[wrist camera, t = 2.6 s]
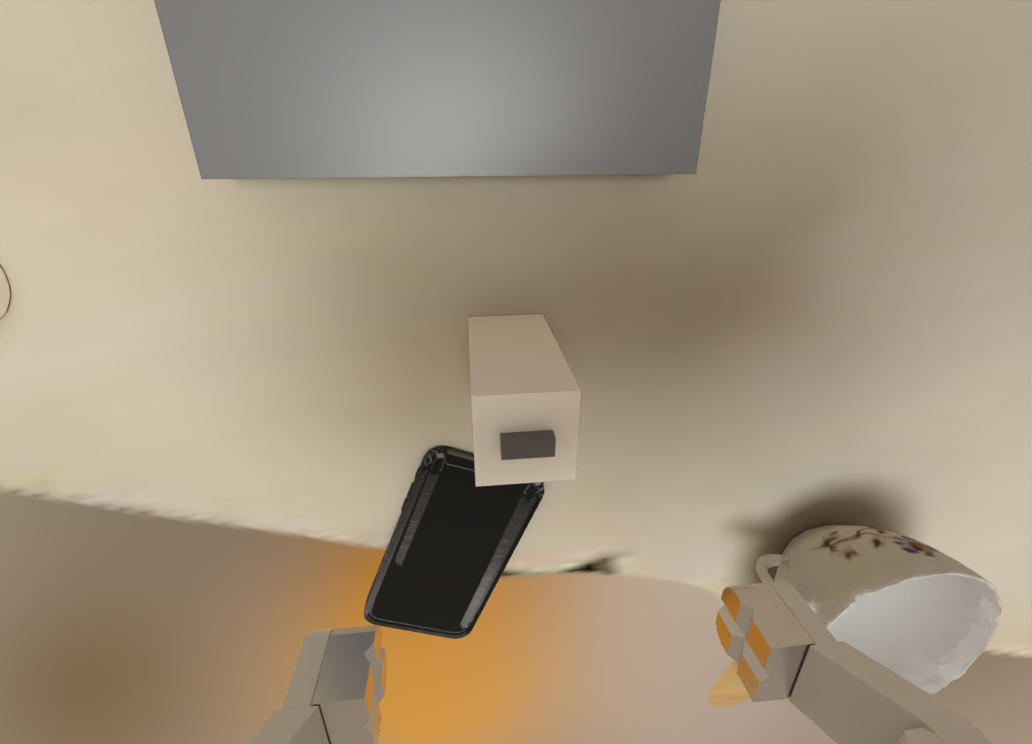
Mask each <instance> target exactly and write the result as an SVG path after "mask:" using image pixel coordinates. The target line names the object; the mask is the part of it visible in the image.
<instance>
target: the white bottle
mask: <svg viewBox="0 0 1032 744" xmlns="http://www.w3.org/2000/svg"><path fill="white" fill-rule="evenodd" d="M9 300H10V291H9V284H8V282H7V279H6V276H5V273H4V271H3V270H2V268H1V266H0V318H1V317H2V316H3V315H4V314H5V313H6V311H7V307H8V304H9Z"/></svg>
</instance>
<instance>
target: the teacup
mask: <svg viewBox="0 0 1032 744" xmlns="http://www.w3.org/2000/svg"><path fill="white" fill-rule="evenodd" d="M773 566H778V568H777V571H776V575H775V579H774V580H773V579H772V578H771V576H770V575H769V573H768V569H769V568H771V567H773ZM756 571H757V574H758V576H759V578H760V580H761V581H762V583H770V582H779V581H788V582H789V583H791V584H792V585H793V586H794V587H795V589H796V590H797V591H798V592H799V594H800V595H801V596H802V597H803V599H804V600H805V601H806V602H807V604H808V605H809V606H810V607H811V609H812V610H813V611H814V613H815V614H816V615H817V616H818V618H819V619H820V620H821V621H822V623H823V624H824V625H825V626H826V628H827V629H828V630H829V631H830V633H831V634H832V635H833V636H834V638H835V639H836V640H837V641H838V642H841V641H844V642H846V643H847V644H849V645H851V646H852V647H854V648H856V649H857V650H859V651H860V652H862V653H864V654H865V655H867V656H868V657H870V658H872V659H873V660H875V661H877V662H878V663H880V664H881V665H883V666H885V667H886V668H888V669H889V670H891V671H893V672H894V673H896V674H898V675H899V676H901V677H902V678H904V679H906V680H907V681H909V682H910V683H912V684H914V685H915V686H917V687H919V688H920V689H922V690H923V691H925V692H927V693H928V694H933V693H936V692H937V691H939V690H940V689H941V688H943V687H946V686H947V685H948V684H949V682H951V681H952V680H954V679H958V678H959V677H960V676H961V675H963V674H964V673H965V671H966V670H967V668H968V667H969V666H970V665H971V664H972V663H973V661H974V660H975V659H976V658H977V657H978V656H979V655H980V654H981V653H982V652H983V651H984V649H985V647H986V645H987V644H988V642H989V641H990V640H991V638H992V637H993V635H994V632H995V629H996V628H997V626H998V616H999V615H1000V614H1001V602H1000V597H999V594H998V592H997V589H996V588H995V586H994V585H992V584H991V583H989V582H988V581H987V580H986V579H984V578H983V577H981V576H980V575H978V574H977V573H975V572H974V571H972V570H971V569H969V568H967V567H966V566H964V565H963V564H961V563H959V562H958V561H956V560H954V559H952V558H951V557H949V556H947V555H945V554H944V553H942V552H940V551H938V550H937V549H935V548H933V547H930V546H928V545H926V544H924V543H922V542H920V541H917V540H915V539H912V538H910V537H907V536H904V535H902V534H899V533H895V532H891V531H887V530H883V529H878V528H874V527H867V526H851V525H843V526H842V525H827V526H820V527H816V528H812V529H809V530H806V531H804V532H802V533H801V534H799V535H798V536H796V537H795V538H794V539H792V540H791V542H790V543H789V544H788V545H787V547H786V548H785V549H784V551H783V553H782V555H780V554H767V555H763V556H761V557H760V558H758V560H757V562H756Z"/></svg>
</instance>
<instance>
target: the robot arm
mask: <svg viewBox="0 0 1032 744" xmlns="http://www.w3.org/2000/svg"><path fill="white" fill-rule="evenodd" d="M721 599H722V600H723V602H724V604H725V605H724V606H723V607H722V608H721V609H720V610H719V611H718V614H717V619H716V625H717V632H718V635H719V638H720V641H721V644H722V645H723V647H724V649H725V651H726V653H727V654H728V655H729V656H730V657H732V658H733V659H734V660H736V661H737V662H738V670H737V673H738V675H739V677H740V679H741V681H742V682H743V684H744V686H745V688H746V690H747V691H748V693H749V695H750V697H751V699H752V700H753V702H760V701H770V700H780V699H790V700H789V701H790V702H791V703H792V704H793V705H795V706H796V707H797V708H798V709H799V710H800V711H801V712H802V713H804V714H805V715H806V716H807V717H808V718H810V720H812V721H813V722H814V723H815V724H816V725H817V726H818V727H820V728H821V729H822V730H823V731H824V732H825V733H826V734H827V735H829V736H830V737H831V738H832V739H833V740H834V741H835V742H837V743H838V744H992V743H991V742H990V741H989V740H988V739H987V737H986V736H985V735H984V734H983V733H982V732H981V731H980V730H979V729H978V728H977V727H976V726H975V724H974V723H973V722H972V721H971V720H970V719H969V718H967V717H965V716H964V715H962V714H960V713H959V712H957V711H956V710H954V709H952V708H951V707H949V706H948V705H946V704H944V703H943V702H941V701H939V700H938V699H936V698H935V697H933V696H931V695H930V694H928V693H927V692H925V691H923V690H922V689H920V688H919V687H917V686H915V685H914V684H912V683H910V682H909V681H907V680H906V679H904V678H902V677H901V676H899V675H898V674H896V673H894V672H893V671H891V670H889V669H888V668H886V667H885V666H883V665H881V664H880V663H878V662H877V661H875V660H873V659H872V658H870V657H868V656H867V655H865V654H864V653H862V652H860V651H859V650H857V649H856V648H854V647H852V646H851V645H849V644H847V643H846V642H844V641H841V642H838V641H837V640H836V639H835V638H834V636H833V635H832V634H831V633H830V631H829V630H828V629H827V628H826V626H825V625H824V624H823V623H822V621H821V620H820V619H819V618H818V616H817V615H816V614H815V613H814V611H813V610H812V609H811V607H810V606H809V605H808V604H807V602H806V601H805V600H804V599H803V597H802V596H801V595H800V594H799V592H798V591H797V590H796V589H795V587H794V586H793V585H792V584H791V583H789V582H788V581H779V582H770V583H757V584H749V585H741V586H732V587H727V588H726V589H724V590H723V593H722V597H721ZM381 639H382V632H381V628H380V625H376V626H364V627H351V628H338V629H327V630H316V631H310V632H309V633H308V634H307V636H306V637H305V639H304V642H303V645H302V649H301V652H300V655H299V658H298V661H297V664H296V668H295V671H294V674H293V677H292V680H291V684H290V687H289V690H288V693H287V696H286V699H285V703H284V706H283V709H282V710H277V711H274V713H272V715H271V716H270V717H269V718H268V719H267V720H266V721H265V722H264V723H263V725H262V726H261V727H260V728H259V729H258V730H257V731H256V732H255V734H254V735H253V736H252V737H251V738H250V739H249V740H248V741H247V743H246V744H378V738H379V731H380V724H381V714H380V709H379V702H380V701H381V699H382V698H383V697H384V693H385V685H386V655H385V649H384V648H383V647H382V646H381Z"/></svg>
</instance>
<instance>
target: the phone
mask: <svg viewBox="0 0 1032 744" xmlns="http://www.w3.org/2000/svg"><path fill="white" fill-rule="evenodd" d="M543 495H544V485H543V482H534V483H520V484H506V485H492V486H478V487H476V482H475V463H474V454H473V453H469V452H466V451H462V450H459V449H455V448H452V447H448V446H438V447H435V448H432V449H431V450H429V451H428V452H427V453H426V455H425V456H424V458H423V461H422V463H421V466H420V468H419V469H418V471H417V473H416V476H415V481H414V483H413V484H412V485H411V488H410V490H409V493H408V495H407V497H408V498H407V499H405V502H404V504H403V507H402V510H401V511H402V513H401V516H400V518H399V521H398V523H397V526H396V528H395V531H394V533H393V536H392V538H391V541H390V543H389V546H388V548H387V550H386V551H385V554H384V556H383V559H382V561H381V564H380V566H379V569H378V571H377V574H376V576H375V579H374V581H373V583H372V586H371V588H370V591H369V594H368V596H367V600H366V605H365V610H364V617H365V619H366V620H367V621H368V622H370V623H372V624H375V625H380V626H386V627H391V628H396V629H402V630H407V631H413V632H419V633H424V634H430V635H436V636H441V637H447V638H455V639H456V638H462V637H464V636H466V635H468V634H469V633H470V632H471V631H472V629H473V627H474V625H475V623H476V621H477V619H478V617H479V615H480V614H481V612H482V610H483V608H484V606H485V604H486V602H487V601H488V599H489V597H490V595H491V593H492V591H493V589H494V587H495V585H496V584H497V582H498V580H499V578H500V576H501V574H502V572H503V571H504V569H505V567H506V565H507V563H508V561H509V559H510V557H511V556H512V554H513V552H514V550H515V548H516V546H517V544H518V542H519V541H520V539H521V537H522V535H523V533H524V531H525V529H526V527H527V526H528V524H529V522H530V520H531V518H532V516H533V514H534V512H535V511H536V509H537V507H538V505H539V503H540V501H541V499H542V497H543Z"/></svg>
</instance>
